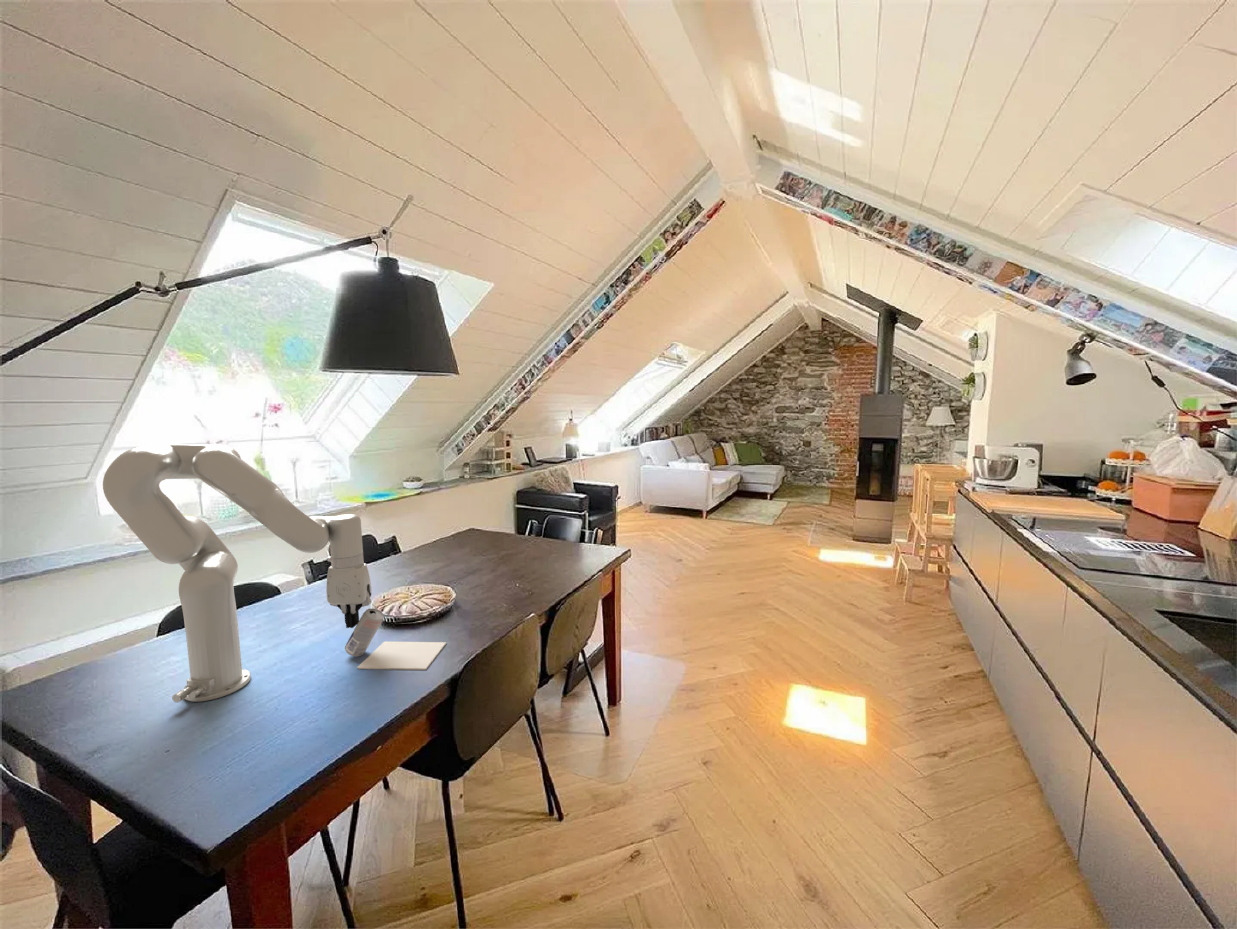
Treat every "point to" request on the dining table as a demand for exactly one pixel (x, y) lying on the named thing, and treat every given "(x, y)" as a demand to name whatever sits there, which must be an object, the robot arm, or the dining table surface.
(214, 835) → the dining table surface
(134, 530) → the robot arm
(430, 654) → the mat
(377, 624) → the energy drink
